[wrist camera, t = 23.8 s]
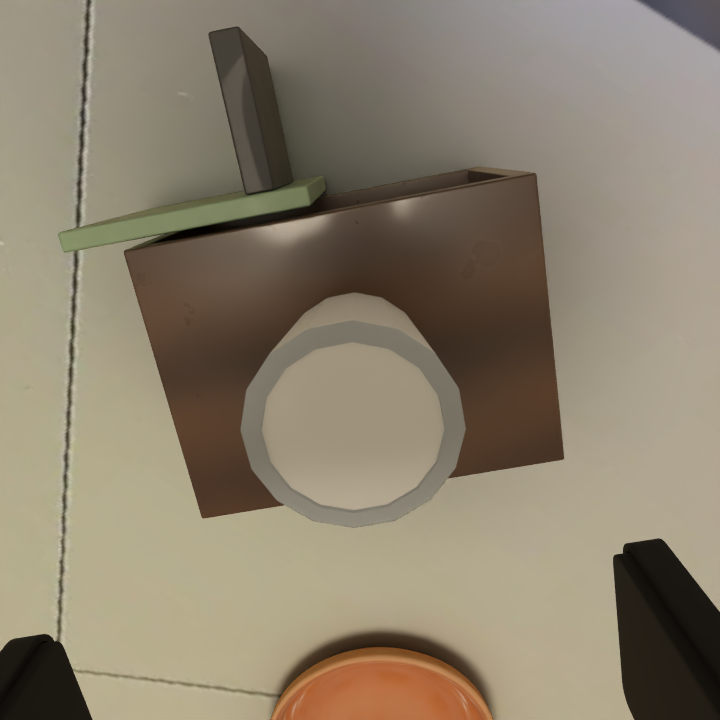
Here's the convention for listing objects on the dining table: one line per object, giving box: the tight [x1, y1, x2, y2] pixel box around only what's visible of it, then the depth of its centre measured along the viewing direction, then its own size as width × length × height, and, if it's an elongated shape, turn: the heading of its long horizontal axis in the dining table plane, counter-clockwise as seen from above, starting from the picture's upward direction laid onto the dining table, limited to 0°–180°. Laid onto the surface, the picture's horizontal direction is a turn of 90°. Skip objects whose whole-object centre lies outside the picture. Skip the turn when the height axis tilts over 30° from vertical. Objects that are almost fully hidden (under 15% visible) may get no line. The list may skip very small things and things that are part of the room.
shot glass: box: [240, 292, 466, 528], centre depth 23 cm, size 7×7×7 cm
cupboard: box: [124, 167, 564, 518], centre depth 32 cm, size 12×16×12 cm
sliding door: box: [58, 26, 326, 252], centre depth 29 cm, size 7×10×11 cm
